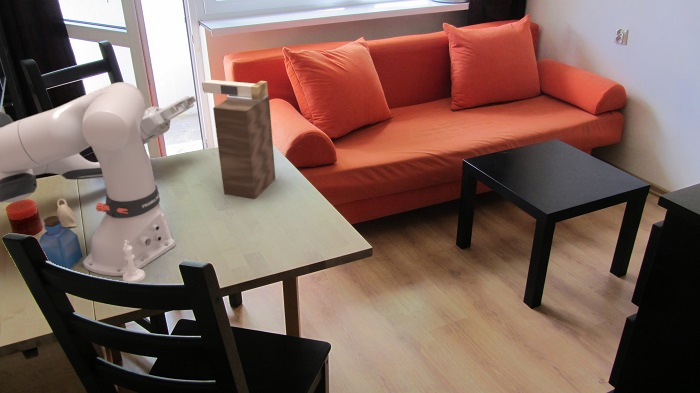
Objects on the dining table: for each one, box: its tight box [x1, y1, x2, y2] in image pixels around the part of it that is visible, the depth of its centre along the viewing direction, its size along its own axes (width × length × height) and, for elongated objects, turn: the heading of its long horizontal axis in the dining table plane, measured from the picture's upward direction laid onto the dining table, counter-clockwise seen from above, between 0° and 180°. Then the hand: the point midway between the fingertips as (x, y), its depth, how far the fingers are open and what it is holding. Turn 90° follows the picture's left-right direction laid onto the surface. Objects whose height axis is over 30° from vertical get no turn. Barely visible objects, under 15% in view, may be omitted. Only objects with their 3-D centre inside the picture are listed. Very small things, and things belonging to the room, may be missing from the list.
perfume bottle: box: [38, 215, 84, 270], centre depth 132 cm, size 6×6×12 cm
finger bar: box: [201, 79, 256, 97], centre depth 161 cm, size 3×16×3 cm, turn 72°
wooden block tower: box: [212, 80, 276, 200], centre depth 163 cm, size 14×10×31 cm
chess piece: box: [122, 240, 146, 283], centre depth 128 cm, size 5×5×10 cm
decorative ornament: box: [56, 198, 78, 228], centre depth 151 cm, size 4×8×5 cm, turn 25°
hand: (185, 103), depth 169 cm, fingers open, 8 cm apart
